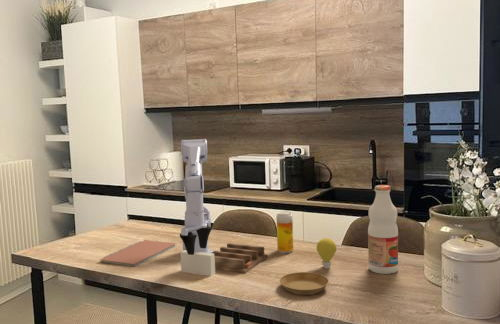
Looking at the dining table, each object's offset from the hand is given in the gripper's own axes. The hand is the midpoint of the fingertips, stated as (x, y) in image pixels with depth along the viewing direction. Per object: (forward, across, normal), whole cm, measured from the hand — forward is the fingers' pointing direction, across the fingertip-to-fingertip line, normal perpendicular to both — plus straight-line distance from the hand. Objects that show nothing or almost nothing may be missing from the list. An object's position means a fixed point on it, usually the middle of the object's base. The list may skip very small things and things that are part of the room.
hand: (197, 251), depth 155 cm
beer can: (+8, +32, -19) cm, 38 cm away
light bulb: (+8, +20, -39) cm, 45 cm away
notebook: (+8, +10, +34) cm, 36 cm away
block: (+8, 0, 0) cm, 8 cm away
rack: (+7, +14, -7) cm, 17 cm away
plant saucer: (+8, 0, -38) cm, 39 cm away
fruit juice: (+8, +24, -57) cm, 62 cm away
